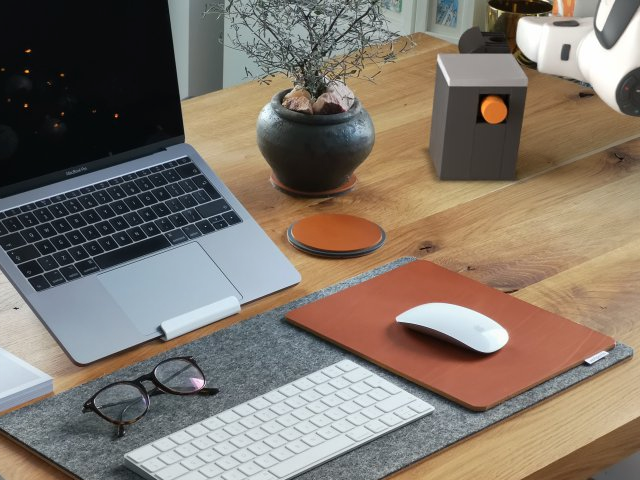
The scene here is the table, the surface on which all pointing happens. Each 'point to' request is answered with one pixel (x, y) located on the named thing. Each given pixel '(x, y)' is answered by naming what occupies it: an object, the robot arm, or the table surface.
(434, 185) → the table surface
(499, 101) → the power button
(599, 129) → the table surface
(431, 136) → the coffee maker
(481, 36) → the end cap
